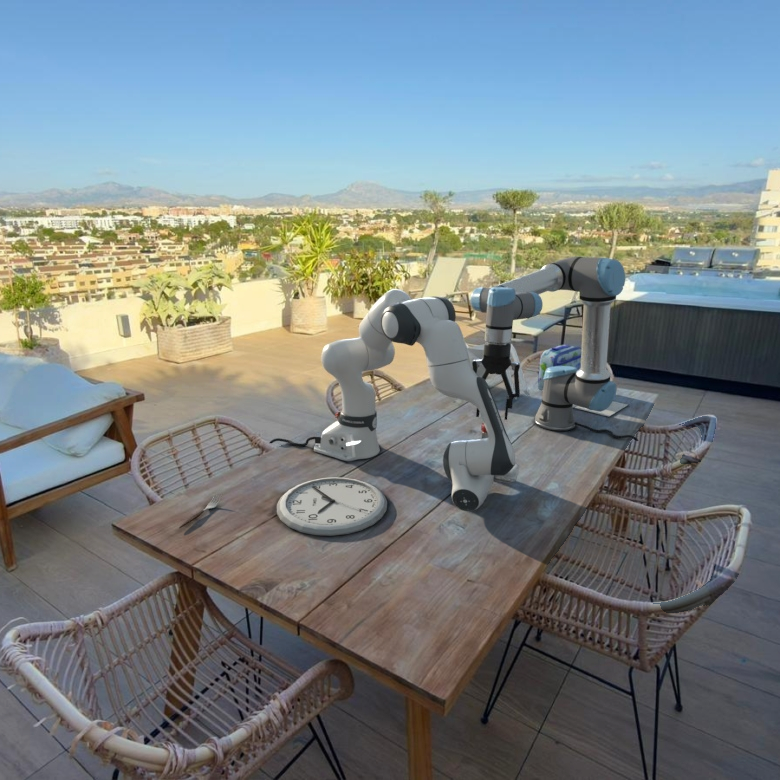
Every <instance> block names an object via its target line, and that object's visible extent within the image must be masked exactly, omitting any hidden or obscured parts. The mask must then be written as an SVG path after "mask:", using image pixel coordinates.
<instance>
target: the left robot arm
mask: <svg viewBox="0 0 780 780" xmlns="http://www.w3.org/2000/svg"><path fill="white" fill-rule="evenodd" d="M456 319H457V315H456V310H455V306H454V304H453V303H452V302H451V301H450V300H449V299H448V298H445V297H443V296H436V295H435V296H429V297H418V298H413V299H412V298H411V297H410V295H409V294H408V293H407V292H405V291H403V290H402V289H397V288H393V289H390V290H388V291H386V292H385V293H384V294H382V295H381V296H380V297H379V298H378V299H377V300H376V301H375V302H374V303H373V304H372V306H371V308H369V310H368V312H367V313H366V314H365V316H363V318H362V319H361V321H360V323H359V325H358V335H359V336H358V337H353V338H345V339H337V340H335V341H333V342H332V341H331V342H330V343H327V344H325V345H324V347H323V348H322V351H321V354H320V360H321V361H320V362H321V365H322V367H323V369H324V370H325V371H326V372H327V373H328V374H330V375H331V376H332V377H333V378H334V379H335V380H336V382H337V383H338V384H339V388H340V393H341V408H340V410H338V411H337V413H335V417H334V418H335V419H336V418H337V420H336V421H334V422H333V423H331V424H330V425H328V426H327V427H325V429H324V430H323V431H322V432H321V431H319V432H317V433H316V435H314V436H309V437H308V438H306V440H305V442H304V443H298V442H294V441H292V440H290V439H285V438H277V437H276V438H273V439H272V440H270V441H269V442H268V444H273V443H275V442H284V443H288V444H290V445H292V446H295V447H306V446H307V445H308V444H309V442H310V441H313V440H314V446H313V451H314V452H315V453H319V454H321V455H325V456H328V457H332V458H335V459H338V460H341V461H345V462H353V461H356V460H364V459H369V458H373V457H375V456H377V455H378V454H379V453H380V452H381V448H380V445H379V441H378V435H377V426H378V425H377V424H378V413H377V412H378V411H377V410H376V405H377V403H376V399H377V398H376V397H377V395H376V390H375V387H374V386H373V385H372V384H371V383H369V382H367V381H365V380H363V372H369V371H374V370H378V369H382V368H384V367H386V366H389V365H391V364H392V363H393V361H394V359H395V355H396V349H395V346H394V343H397V344H401V345H403V344H404V345H407V346H411V347H413V346H414V345H415V344H416V343H418V344H419V345H421V347H422V348H423V350H424V355H425V360H426V367H427V372H428V376H429V380H430V383H431V385H432V386H433V388H434V389H435V390H437V392H439V393H441V394H442V395H444V396H447V397H450V398H454V399H459V400H462V401H465V402H468V403H470V404H472V405H473V406H475V407H476V409H477V408H478V410H479V411H480V413H479V415H480V416H481V419H482V423H484V425H485V428H486V430H487V433H488V436H489V437H488V438H482V437H481V438H472V439H470V438H467V439H459V440H452V441H450V442H449V444H448V445H447V447H446V448H445V450H444V453H443V456H442V465H443V470H444V473H445V476H446V478H447V479H448V481H449V482H450V483H451V485H452V487H451V501H452V503H453V505H454V506H455V507H456V508H458V509H459V510H461V511H464V512H473V511H475V510H477V509H479V508H481V506H482V505H483V504H484V502H485V500H486V499H487V497H488V495H489V491H490V489H491V487H492V485H493V483H494V482H499V483H505V484H510V483H511V484H512V483H513V482H517V479H518V476H519V471H520V465H519V464H518V463H517V462H516V453H515V449H514V446H513V445H512V442H511V440H510V437H509V436H508V433H507V431H506V428H505V425H504V423H503V420H502V418H501V417H502V416H501V414H500V412H499V409H498V406H497V404H496V401H495V398H494V396H493V393H492V391H491V387H490V386H489V384H488V383H487V380H485V379H484V378H482V377H479V376H478V375H477V374H476V373H475V372H474V370H473V369H472V367H471V364H470V361H469V356H468V351H467V347H466V344H467V343H466V340H465V337H464V334H463V331H462V329H461V327H460V325H459V324H458V323H457V322H456Z"/></svg>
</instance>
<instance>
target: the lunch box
mask: <svg viewBox="0 0 780 780" xmlns="http://www.w3.org/2000/svg"><path fill="white" fill-rule="evenodd" d="M581 349H582V346H581V347H580V346H574V345H570V344H569V345H568V344H560V345H558V346H555V347H551V348H549V349H546V350H544V351H543V352H542V353H541V355H540V358H539V365H538V377H537V389H538V390H539V391H543V382H544V379H543V378H544V374H545V371H546V369H547V368H550V367H554V366H572V367H575V368H577V371H578V370H579V369H580V368H581Z"/></svg>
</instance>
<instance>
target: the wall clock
mask: <svg viewBox="0 0 780 780" xmlns="http://www.w3.org/2000/svg"><path fill="white" fill-rule="evenodd" d="M387 509H388V500H387V498H386V496H385V494H384V493H383V492H382V491H381V490H380V489H379V488H377V487H376V486H374V485H372V484H371V483H369V482H365V481H362V480H359V479H355V478H349V477H338V476H337V477H335V476H333V477H332V476H331V477H322V478H317V479H312V480H307V481H305V482H302V483H299V484H297V485H295V486H293V487H292V488H290V489H288V490H287V491H286V492H285V493H284V494H283V495H281V496H280V498H279V499H278V502H277V503H276V515H277V517H278V518H279V520H280V521H281V522H282V523H283V524H285V525H286V526H287V527H288V528H290V529H293V530H295V531H297V532H299V533H303V534H308V535H312V536H327V537H328V536H329V537H331V536H332V537H333V536H342V535H350V534H352V533H356V532H361V531H363V530H366V529H368V528H369V527H372V526H373V525H375V524H376V523H378V522H379V521H380V520H381V519H382V518H383V517H384V516H385V514H386V512H387Z"/></svg>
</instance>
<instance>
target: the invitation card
mask: <svg viewBox="0 0 780 780" xmlns="http://www.w3.org/2000/svg"><path fill="white" fill-rule="evenodd" d="M628 406H629V404H627V403H623V402H618V401H614V400H613V401H612V403H611V404H610V406H609V407H608V408H607V409H606V410H604V411H600V412H599V411H594V410H589V409H587V408H584V407H580V406H577V405H575V406H574V407H573V409H575V410H581V411H584V412H587V413H593V414H596V415H600V416H604V417H608V418H609V417H611V416H613V415H614V414H616V413H617V412H619V411H621V410H623V409H624V408H626V407H628Z"/></svg>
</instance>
